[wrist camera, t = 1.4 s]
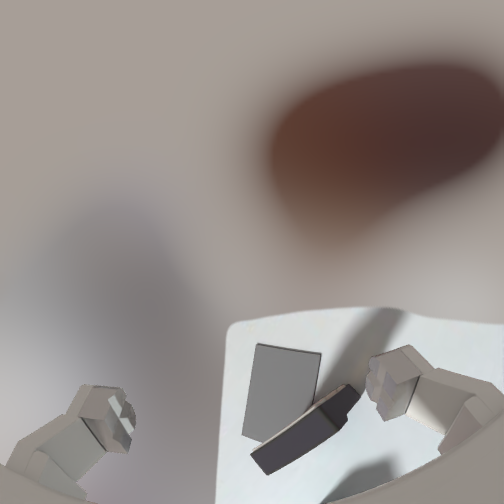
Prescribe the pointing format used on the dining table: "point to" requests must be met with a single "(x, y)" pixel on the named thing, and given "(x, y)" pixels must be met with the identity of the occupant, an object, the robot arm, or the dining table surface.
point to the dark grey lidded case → (306, 430)
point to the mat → (278, 390)
